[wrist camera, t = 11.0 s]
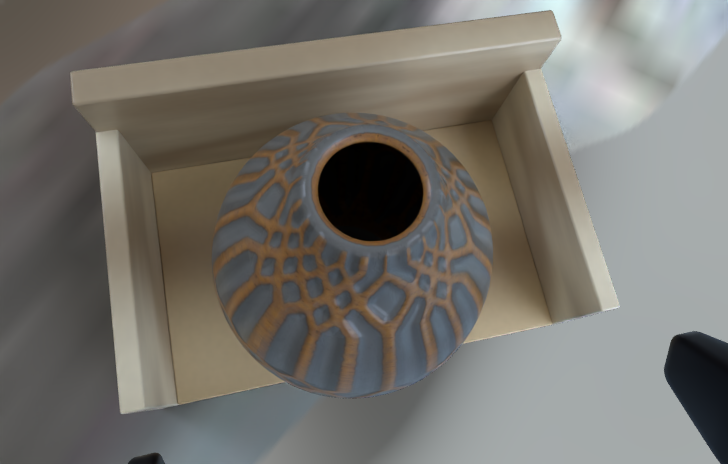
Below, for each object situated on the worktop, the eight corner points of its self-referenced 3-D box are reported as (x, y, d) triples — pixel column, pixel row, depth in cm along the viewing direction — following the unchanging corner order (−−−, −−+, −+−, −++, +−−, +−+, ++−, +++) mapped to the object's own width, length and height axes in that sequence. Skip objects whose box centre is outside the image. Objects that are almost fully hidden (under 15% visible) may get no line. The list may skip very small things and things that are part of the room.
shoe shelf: (565, 322, 18) (654, 299, 13) (160, 408, 16) (94, 418, 11) (496, 98, 20) (553, 8, 15) (133, 152, 18) (68, 70, 14)
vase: (491, 271, 18) (647, 168, 9) (360, 444, 16) (408, 510, 8) (331, 144, 19) (344, -54, 10) (189, 297, 17) (61, 208, 8)
